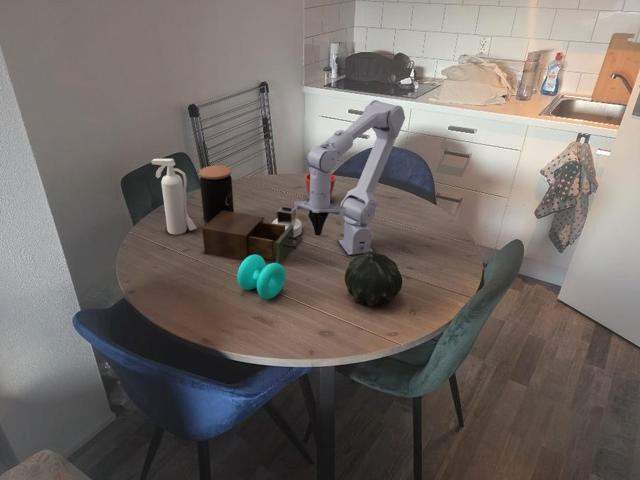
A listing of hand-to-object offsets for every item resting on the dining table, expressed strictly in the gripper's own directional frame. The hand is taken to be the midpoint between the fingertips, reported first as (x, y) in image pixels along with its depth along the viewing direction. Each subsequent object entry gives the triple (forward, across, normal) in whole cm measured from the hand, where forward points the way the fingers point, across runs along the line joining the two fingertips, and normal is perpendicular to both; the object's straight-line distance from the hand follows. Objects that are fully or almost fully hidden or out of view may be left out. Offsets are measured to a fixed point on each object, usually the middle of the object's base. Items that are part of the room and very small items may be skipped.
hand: (318, 234), depth 145 cm
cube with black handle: (+6, -15, +15) cm, 22 cm away
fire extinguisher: (+10, -50, +4) cm, 51 cm away
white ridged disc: (+10, -15, +15) cm, 24 cm away
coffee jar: (+10, -41, +16) cm, 45 cm away
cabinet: (+9, -27, 0) cm, 29 cm away
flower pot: (+10, -12, +43) cm, 46 cm away
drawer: (+8, -15, 0) cm, 17 cm away
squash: (+10, +19, -13) cm, 25 cm away
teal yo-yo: (+10, -9, -21) cm, 25 cm away
